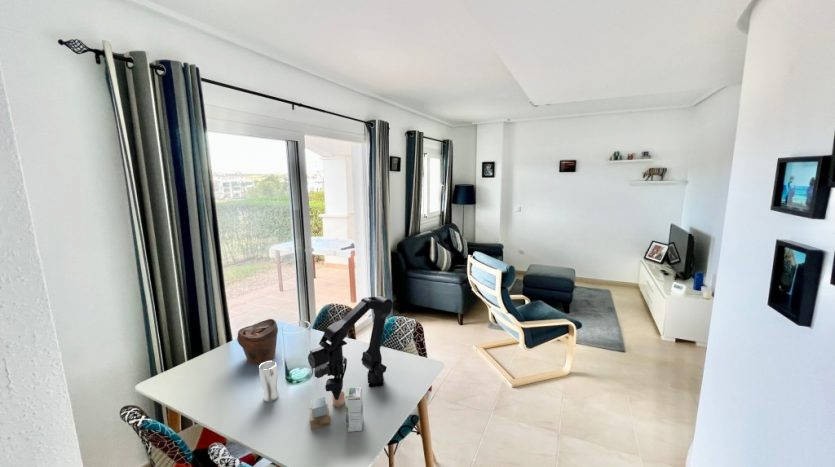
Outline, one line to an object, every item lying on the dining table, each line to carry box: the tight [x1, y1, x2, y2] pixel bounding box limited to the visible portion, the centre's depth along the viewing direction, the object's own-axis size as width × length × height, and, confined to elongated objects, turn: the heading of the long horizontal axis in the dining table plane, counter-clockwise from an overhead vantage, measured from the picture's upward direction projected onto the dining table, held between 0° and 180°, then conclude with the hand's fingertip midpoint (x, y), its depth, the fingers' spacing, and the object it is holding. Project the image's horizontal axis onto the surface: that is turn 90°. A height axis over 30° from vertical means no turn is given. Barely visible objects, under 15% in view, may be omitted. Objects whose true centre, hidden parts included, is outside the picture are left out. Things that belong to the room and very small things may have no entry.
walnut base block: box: [308, 403, 331, 430], centre depth 134 cm, size 7×7×4 cm
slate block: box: [310, 396, 327, 418], centre depth 133 cm, size 5×5×4 cm
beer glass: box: [258, 360, 280, 403], centre depth 147 cm, size 7×7×15 cm
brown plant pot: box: [236, 318, 279, 365], centre depth 176 cm, size 18×20×18 cm
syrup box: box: [344, 386, 364, 433], centre depth 130 cm, size 6×6×14 cm
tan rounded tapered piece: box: [331, 390, 345, 408], centre depth 143 cm, size 5×5×4 cm
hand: (338, 391), depth 143 cm, fingers open, 9 cm apart
